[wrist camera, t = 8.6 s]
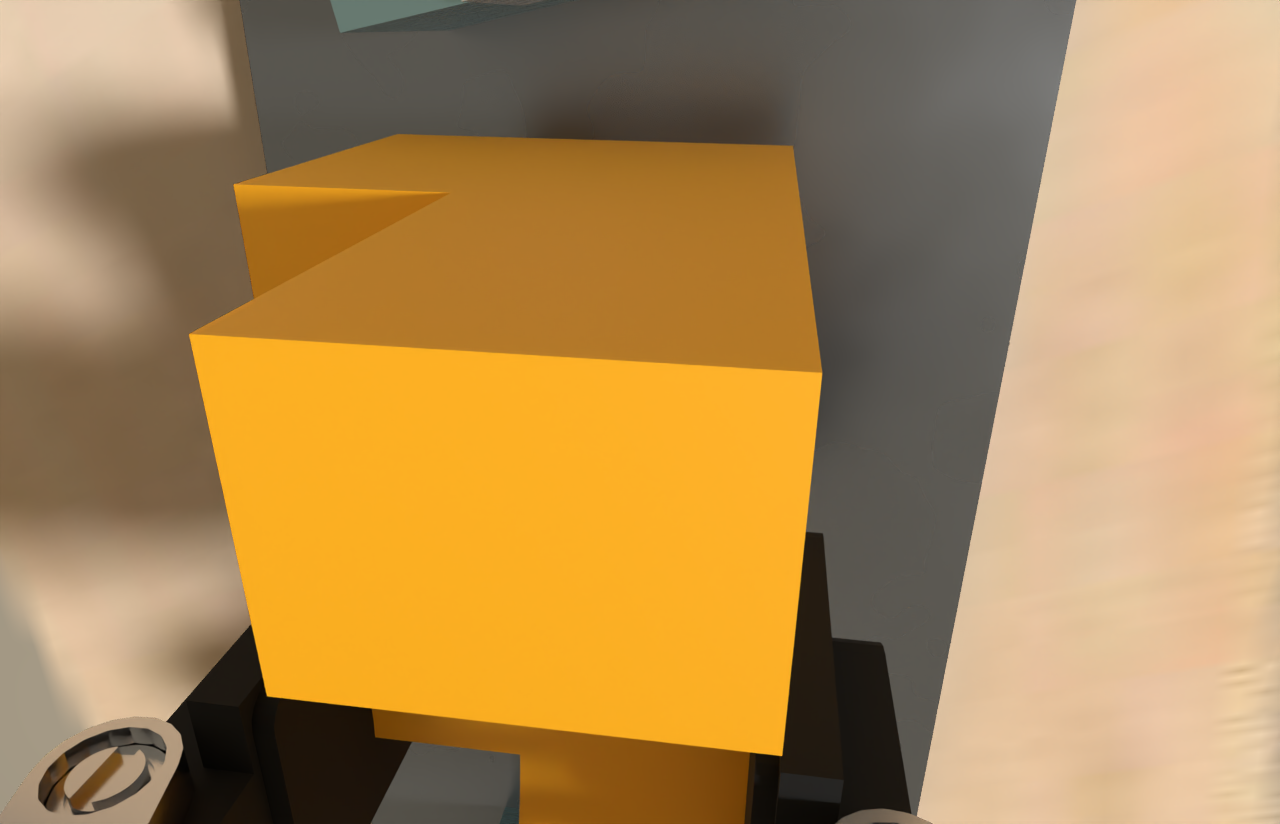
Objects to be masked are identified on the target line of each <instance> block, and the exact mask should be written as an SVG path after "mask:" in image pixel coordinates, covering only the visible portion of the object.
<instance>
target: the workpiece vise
mask: <svg viewBox="0 0 1280 824" xmlns="http://www.w3.org/2000/svg"><path fill="white" fill-rule="evenodd" d="M1075 3H1076V0H240V6H241V12H242V18H243V24H244V31H245V37H246V43H247V49H248V56H249V62H250V68H251V74H252V81H253V87H254V93H255V99H256V106H257V112H258V118H259V124H260V130H261V137H262V143H263V149H264V155H265V162H266V168H267V174H269V173H272V172H275V171H278V170H282V169H285V168H288V167H292V166H295V165H298V164H301V163H305V162H308V161H311V160H314V159H318V158H321V157H324V156H327V155H331V154H334V153H337V152H340V151H344V150H347V149H350V148H353V147H357V146H360V145H363V144H366V143H370V142H373V141H376V140H379V139H383V138H386V137H389V136H393V135H396V134H413V135H446V136H480V137H514V138H548V139H581V140H615V141H649V142H683V143H717V144H750V145H784V146H793V150H794V158H795V166H796V173H797V181H798V189H799V197H800V204H801V212H802V220H803V227H804V235H805V243H806V251H807V258H808V266H809V274H810V282H811V289H812V297H813V305H814V312H815V320H816V328H817V336H818V343H819V351H820V359H821V367H822V381H821V390H820V400H819V409H818V419H817V429H816V438H815V448H814V457H813V467H812V476H811V486H810V495H809V505H808V514H807V524H806V532H815V533H823V537H824V548H825V560H826V572H827V584H828V596H829V608H830V620H831V632H832V638H842V639H852V640H862V641H872V642H881V643H882V645H883V647H884V651H885V655H886V661H887V667H888V673H889V679H890V686H891V692H892V698H893V704H894V710H895V716H896V722H897V728H898V734H899V740H900V746H901V752H902V758H903V765H904V771H905V777H906V783H907V789H908V795H909V801H910V807H911V813H912V815H914V816H916V817H917V812H918V806H919V801H920V796H921V791H922V786H923V781H924V776H925V771H926V766H927V760H928V755H929V750H930V745H931V740H932V735H933V730H934V725H935V720H936V714H937V709H938V704H939V699H940V694H941V689H942V684H943V679H944V673H945V668H946V663H947V658H948V653H949V648H950V643H951V638H952V633H953V627H954V622H955V617H956V612H957V607H958V602H959V597H960V592H961V587H962V581H963V576H964V571H965V566H966V561H967V556H968V551H969V546H970V540H971V535H972V530H973V525H974V520H975V515H976V510H977V505H978V500H979V494H980V489H981V484H982V479H983V474H984V469H985V464H986V459H987V453H988V448H989V443H990V438H991V433H992V428H993V423H994V418H995V413H996V407H997V402H998V397H999V392H1000V387H1001V382H1002V377H1003V372H1004V367H1005V361H1006V356H1007V351H1008V346H1009V341H1010V336H1011V331H1012V326H1013V320H1014V315H1015V310H1016V305H1017V300H1018V295H1019V290H1020V285H1021V280H1022V274H1023V269H1024V264H1025V259H1026V254H1027V249H1028V244H1029V239H1030V234H1031V228H1032V223H1033V218H1034V213H1035V208H1036V203H1037V198H1038V193H1039V187H1040V182H1041V177H1042V172H1043V167H1044V162H1045V157H1046V152H1047V147H1048V141H1049V136H1050V131H1051V126H1052V121H1053V116H1054V111H1055V106H1056V101H1057V95H1058V90H1059V85H1060V80H1061V75H1062V70H1063V65H1064V60H1065V54H1066V49H1067V44H1068V39H1069V34H1070V29H1071V24H1072V19H1073V14H1074V8H1075ZM519 810H520V755H519V754H510V753H502V752H494V751H485V750H477V749H469V748H461V747H452V746H444V745H436V744H427V743H419V742H412V743H411V745H410V747H409V749H408V751H407V753H406V755H405V757H404V759H403V761H402V763H401V765H400V767H399V769H398V771H397V773H396V775H395V777H394V779H393V781H392V783H391V784H390V786H389V788H388V790H387V792H386V794H385V796H384V798H383V800H382V802H381V804H380V806H379V808H378V810H377V812H376V814H375V816H374V818H373V820H372V824H519Z"/></svg>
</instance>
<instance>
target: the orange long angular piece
mask: <svg viewBox="0 0 1280 824" xmlns="http://www.w3.org/2000/svg"><path fill="white" fill-rule="evenodd" d="M233 185H234V191H235V196H236V202H237V207H238V213H239V219H240V224H241V230H242V235H243V241H244V246H245V252H246V258H247V263H248V269H249V274H250V280H251V285H252V291H253V296H254V299H253V300H251V301H249V302H247V303H246V304H244V305H242V306H240V307H238V308H236V309H234V310H233V311H231V312H229V313H227V314H225V315H223V316H221V317H219V318H218V319H216V320H214V321H212V322H210V323H208V324H206V325H205V326H203V327H201V328H199V329H197V330H195V331H193V332H192V333H190V334H189V337H190V342H191V346H192V351H193V356H194V360H195V365H196V369H197V374H198V379H199V383H200V388H201V393H202V397H203V402H204V407H205V411H206V416H207V420H208V425H209V430H210V434H211V439H212V444H213V448H214V453H215V458H216V462H217V467H218V471H219V476H220V481H221V485H222V490H223V495H224V499H225V504H226V508H227V513H228V518H229V522H230V527H231V532H232V536H233V541H234V546H235V550H236V555H237V559H238V564H239V569H240V573H241V578H242V583H243V587H244V592H245V597H246V601H247V606H248V611H249V615H250V620H251V624H252V629H253V634H254V638H255V643H256V648H257V652H258V657H259V661H260V666H261V671H262V675H263V680H264V685H265V689H266V694H267V696H269V697H277V698H286V699H295V700H303V701H312V702H321V703H329V704H338V705H346V706H355V707H364V708H372V713H373V720H374V730H375V737H377V738H386V739H394V740H402V741H411V742H419V743H427V744H436V745H444V746H452V747H461V748H469V749H477V750H485V751H494V752H502V753H510V754H519V755H520V810H519V824H744V822H745V808H746V795H747V783H748V770H749V758H750V752H751V753H760V754H769V755H777V756H782V753H783V743H784V734H785V724H786V715H787V705H788V696H789V686H790V677H791V667H792V658H793V648H794V638H795V629H796V619H797V610H798V600H799V591H800V581H801V572H802V562H803V553H804V543H805V533H806V524H807V514H808V505H809V495H810V486H811V476H812V467H813V457H814V448H815V438H816V429H817V419H818V409H819V400H820V390H821V381H822V367H821V359H820V351H819V343H818V336H817V328H816V320H815V312H814V305H813V297H812V289H811V282H810V274H809V266H808V258H807V251H806V243H805V235H804V227H803V220H802V212H801V204H800V197H799V189H798V181H797V173H796V166H795V158H794V150H793V146H784V145H750V144H717V143H683V142H649V141H615V140H581V139H548V138H514V137H480V136H446V135H413V134H396V135H393V136H389V137H386V138H383V139H379V140H376V141H373V142H370V143H366V144H363V145H360V146H357V147H353V148H350V149H347V150H344V151H340V152H337V153H334V154H331V155H327V156H324V157H321V158H318V159H314V160H311V161H308V162H305V163H301V164H298V165H295V166H292V167H288V168H285V169H282V170H278V171H275V172H272V173H269V174H265V175H262V176H259V177H256V178H252V179H249V180H246V181H243V182H239V183H236V184H233Z"/></svg>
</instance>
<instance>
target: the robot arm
mask: <svg viewBox="0 0 1280 824" xmlns="http://www.w3.org/2000/svg"><path fill="white" fill-rule="evenodd" d="M411 743H412V742H411V741H402V740H394V739H386V738H377V737H375V730H374V720H373V713H372V708H364V707H355V706H346V705H338V704H329V703H321V702H312V701H303V700H295V699H286V698H277V697H269V696H267V694H266V689H265V685H264V680H263V675H262V671H261V666H260V661H259V657H258V652H257V648H256V643H255V638H254V634H253V629H252V624H251V625H250V626H249V627H248V629H247V630H246V631H245V632H244V633H243V634H242V635H241V637H240V638H239V639H238V640H237V641H236V642H235V643H234V645H233V646H232V647H231V648H230V649H229V650H228V651H227V653H226V654H225V655H224V656H223V657H222V658H221V660H220V661H219V662H218V663H217V664H216V665H215V666H214V668H213V669H212V670H211V671H210V672H209V673H208V674H207V676H206V677H205V678H204V679H203V680H202V681H201V682H200V684H199V685H198V686H197V687H196V688H195V689H194V690H193V692H192V693H191V694H190V695H189V696H188V697H187V699H186V700H185V701H184V702H183V703H182V704H181V705H180V707H179V708H178V709H177V710H176V711H175V712H174V713H173V715H172V716H171V717H170V718H169V719H168V720H167V721H166V722H165V721H162V720H160V719H157V718H149V717H130V718H124V719H117V720H112V721H109V722H106V723H103V724H100V725H97V726H94V727H91V728H88V729H86V730H84V731H82V732H80V733H78V734H76V735H74V736H72V737H71V738H69V739H67V740H65V741H64V742H62V743H61V744H60V745H58V746H57V747H55V748H54V749H53V750H51V751H50V752H49V753H47V754H46V755H45V756H44V757H43V758H42V759H41V760H40V761H39V762H38V763H37V765H36V766H35V767H34V768H33V769H32V770H31V771H30V772H29V774H28V775H27V776H26V778H25V779H24V781H23V782H22V784H21V785H20V786H19V788H18V789H17V791H16V792H15V794H14V795H13V796H12V798H11V799H10V801H9V802H8V804H7V805H6V806H5V808H4V809H3V811H2V812H1V814H0V824H371V822H372V820H373V818H374V816H375V814H376V812H377V810H378V808H379V806H380V804H381V802H382V800H383V798H384V796H385V794H386V792H387V790H388V788H389V786H390V784H391V783H392V781H393V779H394V777H395V775H396V773H397V771H398V769H399V767H400V765H401V763H402V761H403V759H404V757H405V755H406V753H407V751H408V749H409V747H410V745H411ZM744 824H932V823H930V822H928V821H926V820H923V819H921V818H919V817H916V816H914V815H912V813H911V807H910V801H909V795H908V789H907V783H906V777H905V771H904V765H903V758H902V752H901V746H900V740H899V734H898V728H897V722H896V716H895V710H894V704H893V698H892V692H891V686H890V679H889V673H888V667H887V661H886V655H885V651H884V647H883V645H882V643H881V642H872V641H862V640H852V639H842V638H832V632H831V620H830V608H829V596H828V584H827V572H826V560H825V548H824V537H823V533H815V532H806V533H805V543H804V553H803V562H802V572H801V581H800V591H799V600H798V610H797V619H796V629H795V638H794V648H793V658H792V667H791V677H790V686H789V696H788V705H787V715H786V724H785V734H784V743H783V753H782V756H777V755H769V754H760V753H751V752H750V758H749V770H748V783H747V795H746V808H745V822H744Z"/></svg>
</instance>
